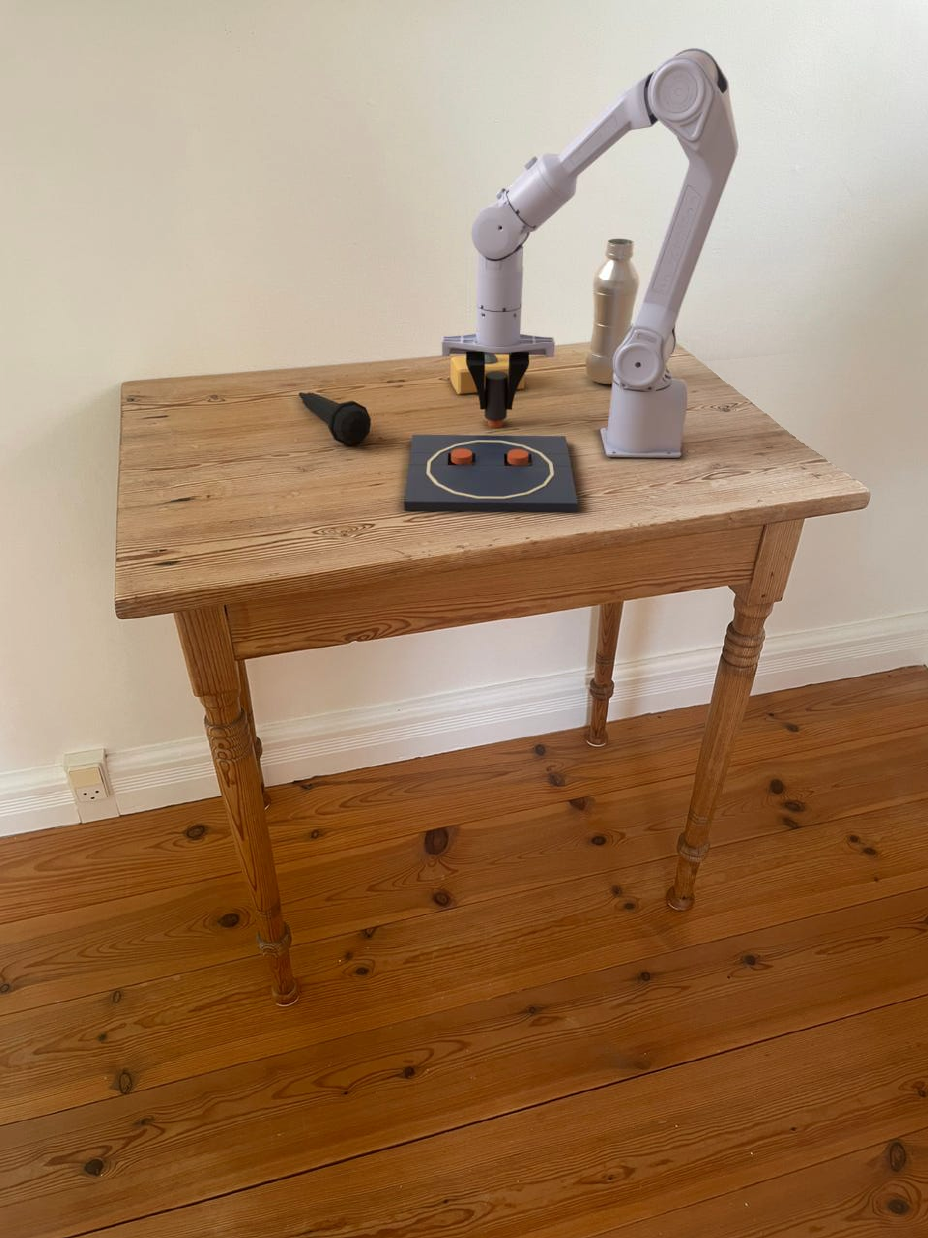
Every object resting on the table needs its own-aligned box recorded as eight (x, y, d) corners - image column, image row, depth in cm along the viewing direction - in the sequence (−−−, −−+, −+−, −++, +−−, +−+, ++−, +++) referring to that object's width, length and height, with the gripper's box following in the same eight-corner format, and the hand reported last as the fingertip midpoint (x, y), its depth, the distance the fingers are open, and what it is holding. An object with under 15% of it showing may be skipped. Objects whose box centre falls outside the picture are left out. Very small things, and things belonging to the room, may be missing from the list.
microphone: (293, 421, 133) (350, 458, 118) (275, 385, 130) (331, 419, 115) (324, 402, 135) (385, 437, 120) (308, 367, 131) (368, 398, 116)
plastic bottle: (631, 389, 136) (648, 248, 124) (585, 389, 136) (598, 247, 124) (626, 373, 141) (642, 235, 129) (582, 372, 141) (593, 235, 130)
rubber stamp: (514, 375, 140) (517, 295, 133) (524, 389, 136) (528, 307, 129) (450, 380, 138) (450, 299, 131) (458, 395, 134) (458, 312, 127)
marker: (506, 420, 127) (507, 371, 123) (506, 429, 125) (508, 379, 120) (484, 419, 127) (485, 370, 123) (484, 429, 125) (485, 379, 120)
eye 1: (472, 455, 116) (472, 448, 115) (472, 465, 114) (472, 457, 113) (451, 455, 116) (451, 448, 115) (451, 464, 114) (451, 457, 113)
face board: (564, 444, 121) (565, 435, 120) (577, 512, 106) (578, 502, 106) (412, 442, 121) (412, 433, 120) (404, 510, 106) (404, 500, 106)
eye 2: (527, 456, 116) (528, 448, 115) (528, 465, 114) (529, 458, 113) (507, 456, 116) (507, 448, 115) (507, 465, 114) (508, 458, 113)
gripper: (554, 295, 119) (547, 395, 127) (442, 294, 120) (443, 394, 128) (558, 313, 114) (551, 416, 122) (440, 312, 114) (441, 415, 122)
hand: (496, 406), depth 124 cm, fingers closed on marker, 3 cm apart
